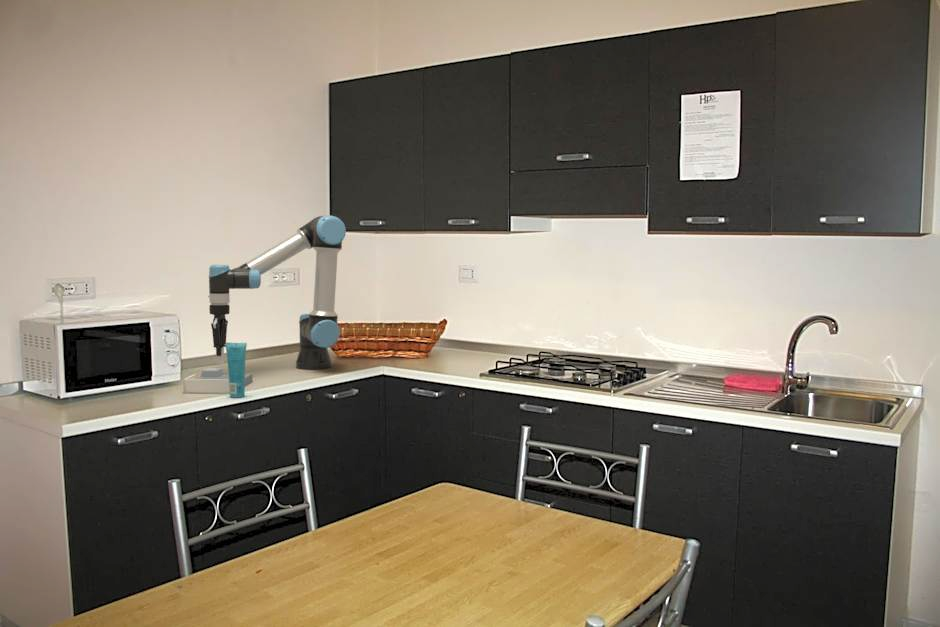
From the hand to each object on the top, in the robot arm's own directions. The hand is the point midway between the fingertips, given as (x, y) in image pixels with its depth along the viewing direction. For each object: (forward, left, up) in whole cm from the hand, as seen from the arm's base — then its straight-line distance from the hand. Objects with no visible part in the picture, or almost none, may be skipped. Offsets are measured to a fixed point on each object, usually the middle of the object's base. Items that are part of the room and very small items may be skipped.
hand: (220, 363), depth 320 cm
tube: (-17, +34, -6) cm, 39 cm away
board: (-5, +12, -6) cm, 14 cm away
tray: (-5, +24, -6) cm, 25 cm away
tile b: (0, +10, -3) cm, 10 cm away
